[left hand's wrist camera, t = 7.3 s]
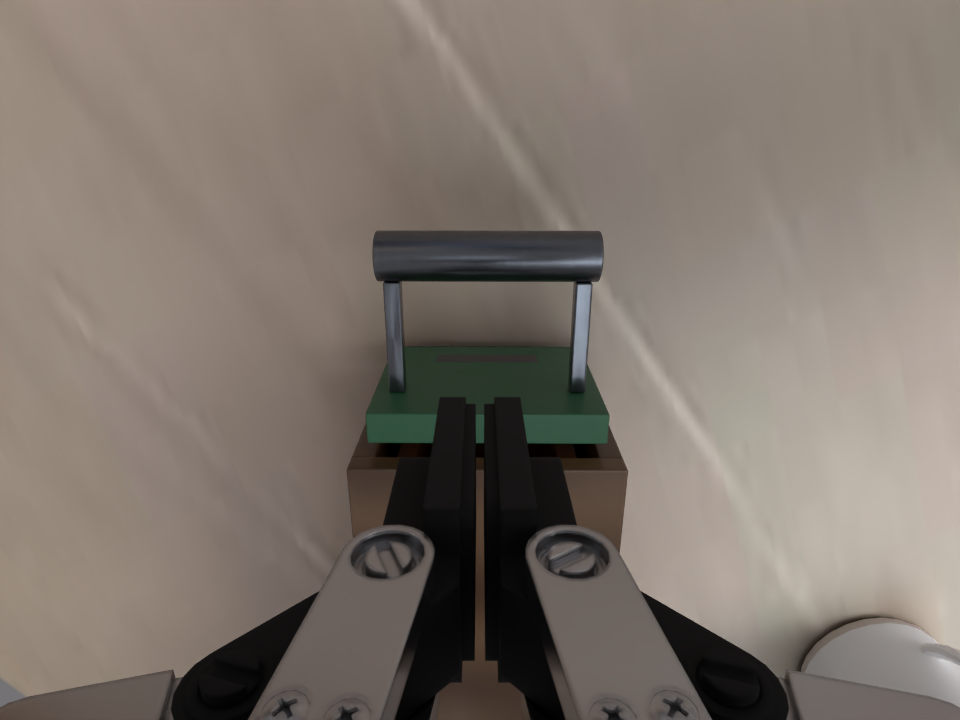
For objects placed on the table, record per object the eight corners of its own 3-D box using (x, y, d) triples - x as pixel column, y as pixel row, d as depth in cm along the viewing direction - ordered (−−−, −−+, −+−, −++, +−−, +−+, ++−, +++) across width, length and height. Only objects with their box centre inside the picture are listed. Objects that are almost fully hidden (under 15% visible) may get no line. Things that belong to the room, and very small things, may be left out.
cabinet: (386, 372, 29) (346, 469, 21) (587, 372, 29) (628, 470, 21) (404, 669, 36) (379, 831, 28) (566, 670, 36) (591, 833, 28)
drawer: (386, 212, 26) (351, 241, 19) (588, 212, 26) (625, 241, 19) (410, 646, 34) (392, 769, 28) (560, 647, 34) (578, 770, 28)
